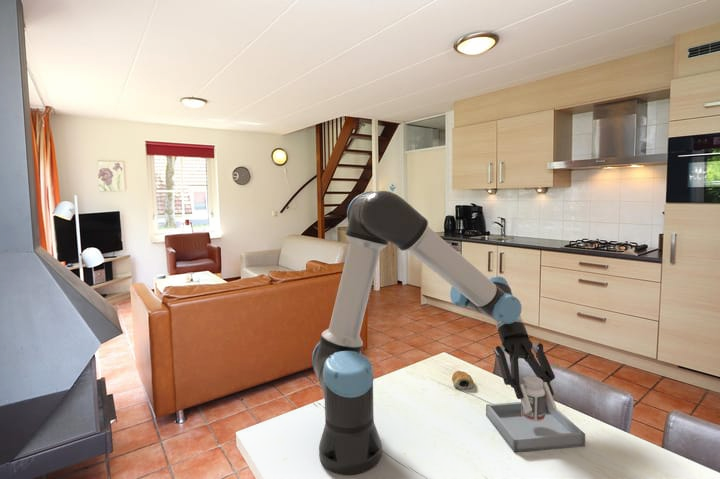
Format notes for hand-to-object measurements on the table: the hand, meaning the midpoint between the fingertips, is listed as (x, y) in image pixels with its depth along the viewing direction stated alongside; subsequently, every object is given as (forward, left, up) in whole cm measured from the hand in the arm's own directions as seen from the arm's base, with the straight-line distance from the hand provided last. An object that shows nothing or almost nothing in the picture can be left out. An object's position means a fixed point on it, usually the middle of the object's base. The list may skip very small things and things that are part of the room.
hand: (540, 410), depth 96 cm
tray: (0, +4, -7) cm, 8 cm away
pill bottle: (0, +4, -4) cm, 5 cm away
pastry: (-9, +31, -8) cm, 33 cm away
